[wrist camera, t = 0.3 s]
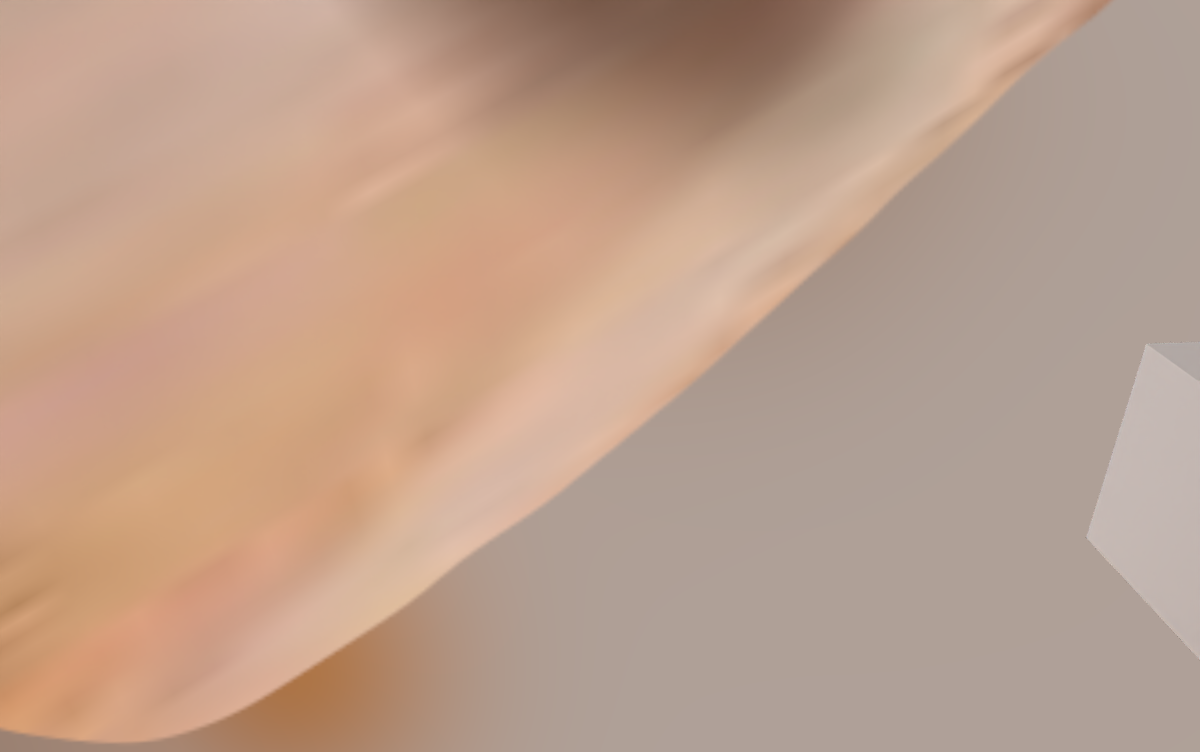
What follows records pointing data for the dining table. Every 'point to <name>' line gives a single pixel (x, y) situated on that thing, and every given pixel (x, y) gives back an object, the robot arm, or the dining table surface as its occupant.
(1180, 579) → the robot arm
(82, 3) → the dining table surface
